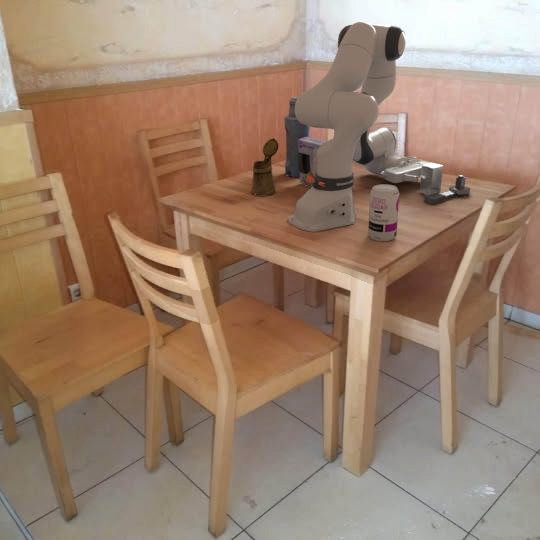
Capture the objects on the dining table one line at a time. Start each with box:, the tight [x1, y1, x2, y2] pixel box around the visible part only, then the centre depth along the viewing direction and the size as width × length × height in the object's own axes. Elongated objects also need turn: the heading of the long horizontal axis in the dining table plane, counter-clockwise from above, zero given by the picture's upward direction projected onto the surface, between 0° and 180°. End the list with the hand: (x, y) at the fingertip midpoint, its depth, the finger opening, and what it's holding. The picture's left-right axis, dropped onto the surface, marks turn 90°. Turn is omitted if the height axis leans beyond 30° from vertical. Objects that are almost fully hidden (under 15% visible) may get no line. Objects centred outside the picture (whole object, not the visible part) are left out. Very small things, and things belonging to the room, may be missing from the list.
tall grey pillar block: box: [419, 162, 444, 196], centre depth 196 cm, size 5×5×10 cm
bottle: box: [284, 96, 310, 178], centre depth 217 cm, size 10×10×30 cm
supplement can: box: [367, 183, 400, 242], centre depth 161 cm, size 8×8×15 cm
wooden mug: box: [251, 137, 279, 196], centre depth 203 cm, size 9×14×18 cm, turn 150°
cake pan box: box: [298, 136, 326, 188], centre depth 203 cm, size 19×5×18 cm, turn 33°
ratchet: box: [424, 174, 471, 206], centre depth 192 cm, size 19×7×6 cm, turn 124°
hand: (425, 176), depth 197 cm, fingers open, 8 cm apart
